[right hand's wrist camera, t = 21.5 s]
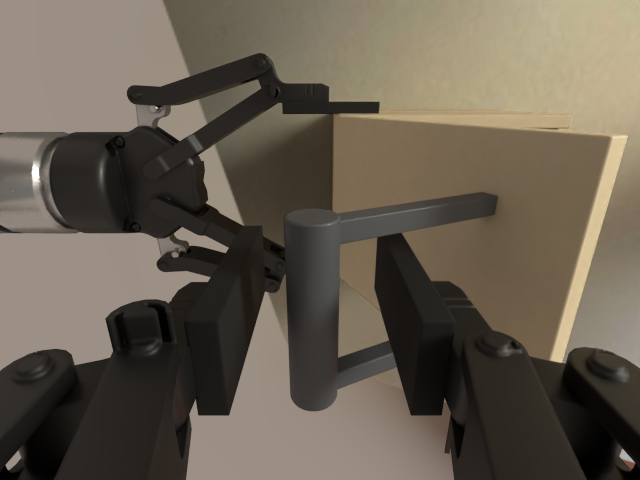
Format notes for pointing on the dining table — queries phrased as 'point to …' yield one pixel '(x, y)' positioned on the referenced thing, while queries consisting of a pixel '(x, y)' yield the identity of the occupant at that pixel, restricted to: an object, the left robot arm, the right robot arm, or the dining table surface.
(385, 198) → the lid
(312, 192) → the dining table surface
